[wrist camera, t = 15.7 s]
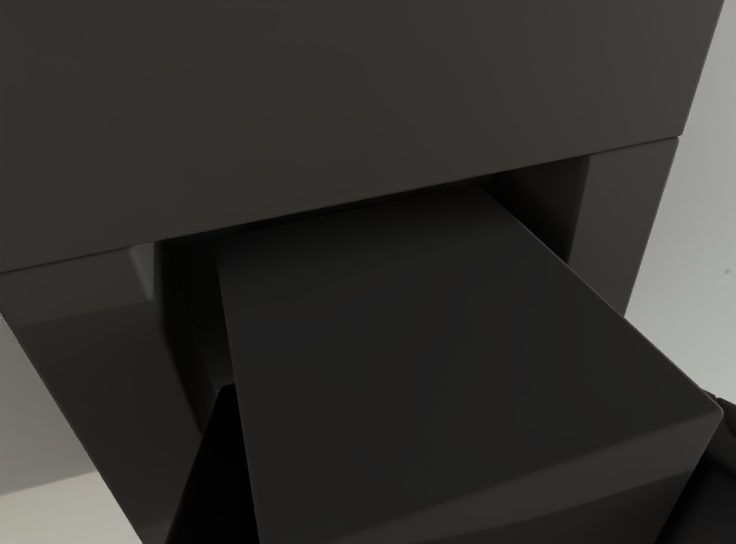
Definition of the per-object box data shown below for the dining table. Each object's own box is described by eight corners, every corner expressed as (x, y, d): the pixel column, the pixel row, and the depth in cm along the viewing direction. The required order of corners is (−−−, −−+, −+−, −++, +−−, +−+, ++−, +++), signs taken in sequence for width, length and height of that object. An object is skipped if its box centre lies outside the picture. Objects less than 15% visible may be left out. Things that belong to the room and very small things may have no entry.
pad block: (464, 365, 13) (621, 609, 8) (262, 422, 12) (322, 734, 7) (479, 181, 10) (730, 411, 5) (212, 236, 9) (261, 571, 4)
